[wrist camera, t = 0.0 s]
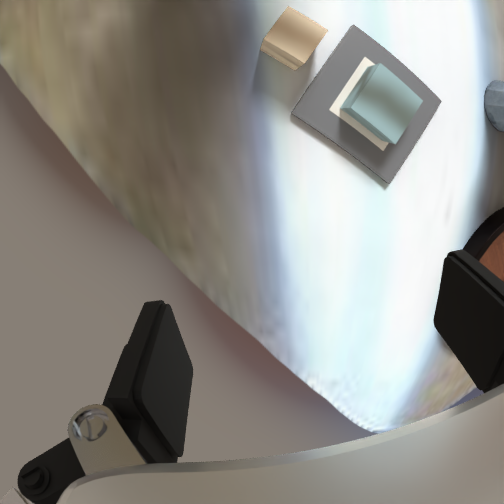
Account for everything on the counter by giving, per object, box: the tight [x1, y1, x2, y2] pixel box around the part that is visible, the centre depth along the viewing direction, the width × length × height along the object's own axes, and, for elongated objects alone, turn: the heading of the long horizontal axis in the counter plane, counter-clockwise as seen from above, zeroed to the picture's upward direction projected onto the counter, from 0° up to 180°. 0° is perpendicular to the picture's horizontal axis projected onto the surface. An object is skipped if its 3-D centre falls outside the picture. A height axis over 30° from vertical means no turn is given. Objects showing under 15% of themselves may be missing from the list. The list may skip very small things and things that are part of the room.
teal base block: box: [340, 63, 423, 144], centre depth 32 cm, size 7×7×4 cm
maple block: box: [260, 6, 328, 71], centre depth 29 cm, size 5×5×6 cm
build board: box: [291, 25, 441, 184], centre depth 34 cm, size 15×16×1 cm
